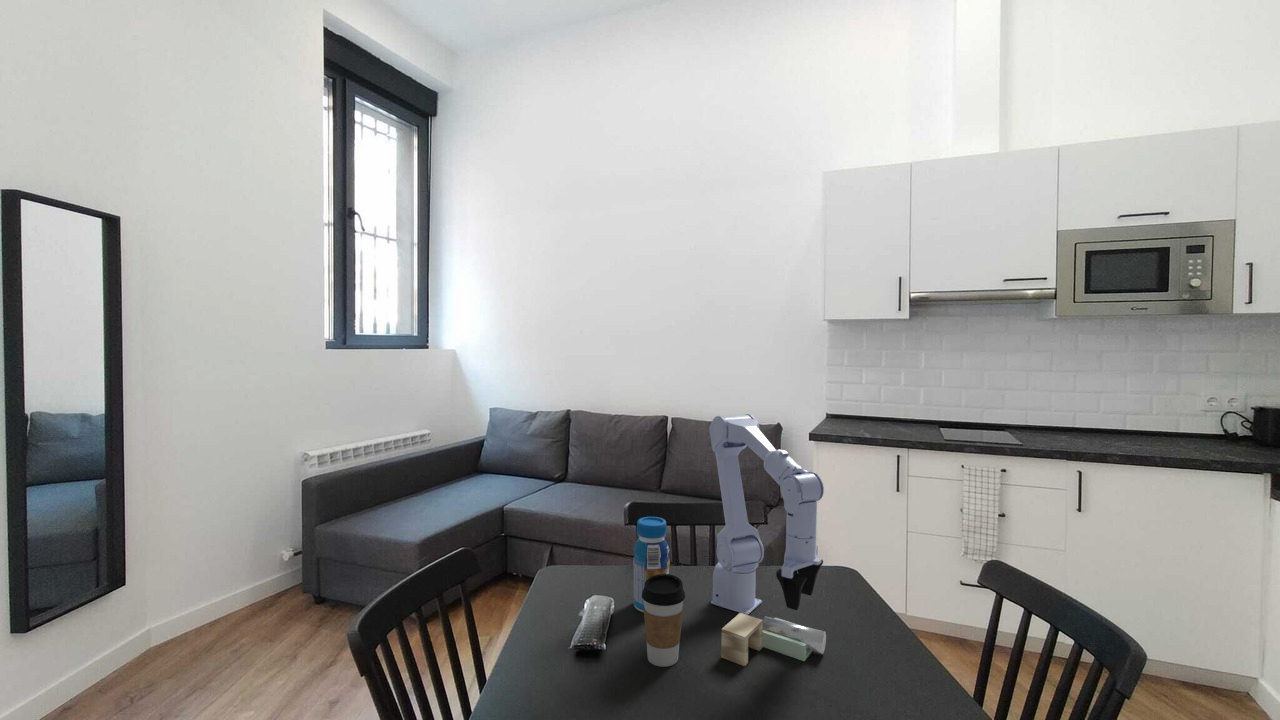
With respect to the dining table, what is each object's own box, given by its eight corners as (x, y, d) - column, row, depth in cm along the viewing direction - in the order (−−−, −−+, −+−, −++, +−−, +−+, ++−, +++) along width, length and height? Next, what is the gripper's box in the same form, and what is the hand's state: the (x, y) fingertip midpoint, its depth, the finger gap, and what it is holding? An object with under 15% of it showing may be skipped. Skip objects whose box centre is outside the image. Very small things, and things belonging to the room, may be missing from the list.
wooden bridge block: (721, 657, 111) (721, 628, 111) (739, 639, 118) (740, 612, 117) (744, 666, 108) (745, 637, 108) (762, 647, 115) (762, 620, 114)
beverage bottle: (625, 608, 131) (626, 522, 130) (645, 594, 138) (646, 512, 137) (657, 618, 126) (657, 529, 125) (676, 603, 133) (676, 519, 132)
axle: (760, 637, 116) (762, 616, 117) (765, 636, 119) (768, 616, 120) (820, 654, 110) (822, 631, 111) (824, 652, 113) (826, 631, 114)
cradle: (760, 646, 115) (761, 631, 115) (775, 631, 121) (775, 617, 121) (804, 661, 110) (804, 646, 110) (817, 645, 116) (817, 630, 116)
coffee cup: (689, 650, 113) (689, 576, 113) (678, 674, 106) (678, 595, 105) (649, 643, 116) (649, 570, 116) (635, 665, 108) (635, 588, 108)
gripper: (807, 549, 105) (806, 621, 106) (832, 528, 117) (831, 593, 117) (771, 541, 109) (770, 610, 110) (799, 521, 121) (798, 583, 122)
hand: (799, 600), depth 114 cm, fingers open, 7 cm apart
